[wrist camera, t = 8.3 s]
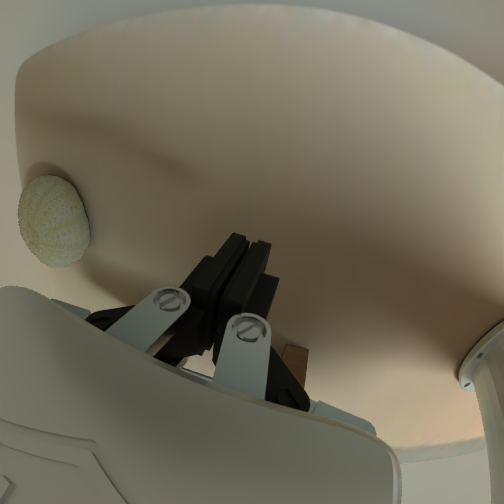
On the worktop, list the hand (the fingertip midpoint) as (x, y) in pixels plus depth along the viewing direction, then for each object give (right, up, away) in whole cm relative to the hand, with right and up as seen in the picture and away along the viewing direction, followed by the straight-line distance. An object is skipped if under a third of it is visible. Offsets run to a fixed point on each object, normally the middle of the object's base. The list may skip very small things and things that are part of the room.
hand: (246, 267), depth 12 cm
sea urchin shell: (-18, +4, +10) cm, 21 cm away
